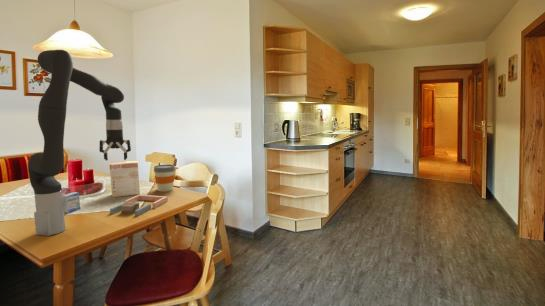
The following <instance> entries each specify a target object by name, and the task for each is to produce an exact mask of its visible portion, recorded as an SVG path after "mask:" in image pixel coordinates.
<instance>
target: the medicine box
mask: <svg viewBox="0 0 545 306" xmlns="http://www.w3.org/2000/svg"><path fill="white" fill-rule="evenodd" d="M62 198H63V208H64V214H70V213H74V212H76V211H78V210H80V209H81V199H80V192H78V191H77V192H75V191H73V192H70V193H69V192H68V193H66V194H62Z"/></svg>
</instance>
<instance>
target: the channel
mask: <svg viewBox="0 0 545 306" xmlns="http://www.w3.org/2000/svg"><path fill="white" fill-rule="evenodd" d="M125 203H127V202H124V201H123V202H122V203H119V204H117V205H116V206H112V207H111V208H110V209H109V214H110V215H114V214H115V213H116V214H117V213H118V212H121V205H123V204H125ZM151 209H152V205H151V203H147V204H145V205H143V206H141V207H139V209H137V210H135V213H134V216H136V217H139V216H140V215H142V214H144V213H146V212H147V211H149V210H151Z"/></svg>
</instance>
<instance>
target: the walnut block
mask: <svg viewBox="0 0 545 306" xmlns="http://www.w3.org/2000/svg"><path fill="white" fill-rule="evenodd" d="M139 208H140V202H128V203H125V204H123V205H121V210H120V213H121V214H127V215H128V214H129V215H134V214H135V210H137V209H139Z"/></svg>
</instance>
